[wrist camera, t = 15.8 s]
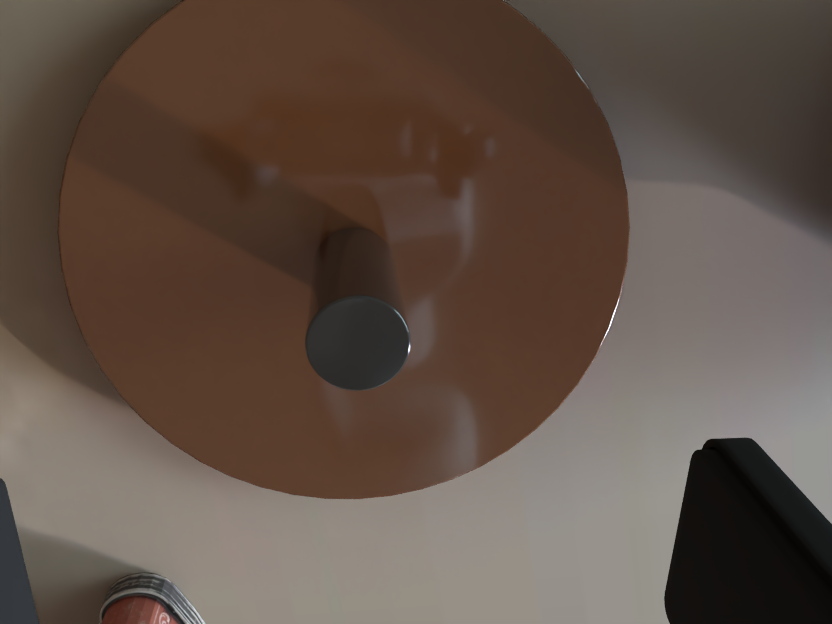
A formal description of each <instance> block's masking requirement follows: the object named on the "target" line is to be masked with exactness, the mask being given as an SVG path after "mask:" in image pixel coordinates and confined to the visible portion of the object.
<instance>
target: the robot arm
mask: <svg viewBox="0 0 832 624" xmlns="http://www.w3.org/2000/svg"><path fill="white" fill-rule="evenodd" d="M664 601H665V610H666V614H667V618H668V620H669V622H670V624H832V524H831V523H830V522H829V521H828V520H827V519H826V518H825V517H824V515H823V514H822V513H821V512H820V511H819V510H818V509H817V508H816V507H815V506H814V505H813V504H812V502H811V501H810V500H809V499H808V498H807V497H806V496H805V495H804V494H803V493H802V492H801V491H800V489H799V488H798V487H797V486H796V485H795V484H794V483H793V482H792V481H791V480H790V479H789V477H788V476H787V475H786V474H785V473H784V472H783V471H782V470H781V469H780V468H779V467H778V466H777V464H776V463H775V462H774V461H773V460H772V459H771V458H770V457H769V456H768V455H767V454H766V453H765V451H764V450H763V449H762V448H761V447H760V446H759V445H758V444H757V443H756V442H755V441H754V440H752V439H750V438H725V439H710V440H708V441H706V443H705V444H704V445H703V448H702V450H696V451H695V452H694V453H693V455H692V458H691V461H690V466H689V472H688V477H687V482H686V487H685V492H684V497H683V502H682V508H681V513H680V518H679V523H678V528H677V533H676V538H675V544H674V549H673V554H672V559H671V564H670V569H669V574H668V580H667V585H666V590H665V597H664ZM0 624H39V621H38V616H37V612H36V608H35V604H34V600H33V596H32V591H31V587H30V583H29V579H28V575H27V571H26V566H25V562H24V558H23V554H22V550H21V546H20V542H19V537H18V533H17V529H16V525H15V521H14V517H13V512H12V508H11V504H10V500H9V496H8V492H7V488H6V485H5V482H4V481H3V480H2V479H1V478H0Z"/></svg>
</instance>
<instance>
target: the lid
mask: <svg viewBox="0 0 832 624" xmlns="http://www.w3.org/2000/svg"><path fill="white" fill-rule="evenodd" d="M629 229H630V226H629V211H628V197H627V189H626V184H625V179H624V174H623V170H622V165H621V160H620V156H619V153H618V150H617V147H616V145H615V142H614V139H613V136H612V133H611V131H610V128H609V125H608V122H607V120H606V118H605V117H604V115H603V113H602V111H601V109H600V107H599V105H598V103H597V101H596V99H595V97H594V95H593V94H592V92H591V90H590V88H589V87H588V85H587V84H586V83H585V81H584V80H583V78H582V77H581V76H580V74H579V73H578V71H577V70H576V69H575V67H574V66H573V64H572V63H571V62H570V60H569V59H568V57H567V56H566V55H565V54H564V53H563V52H562V51H561V50H560V49H559V48H558V47H557V46H556V45H555V44H554V43H553V42H552V41H551V40H550V39H549V38H548V37H547V36H546V34H545V33H544V32H543V31H542V30H541V29H540V28H538V27H537V26H536V25H535V24H533V23H532V22H531V21H529V20H528V19H527V18H526V17H524V16H523V15H522V14H521V13H519V12H518V11H517V10H515V9H514V8H513V7H512V6H510V5H509V4H508V3H506V2H504V1H502V0H182V1H181V2H179V3H178V4H177V5H175V6H174V7H173V8H171V9H170V10H169V11H167V12H166V13H165V14H163V15H162V16H160V17H159V18H158V19H156V20H155V21H154V22H152V23H151V24H150V25H149V26H148V27H147V28H146V29H145V30H144V31H143V32H142V33H141V34H140V35H139V36H138V37H137V38H136V39H135V40H134V41H133V42H132V43H131V44H130V45H129V46H128V47H127V48H126V49H125V50H124V51H123V52H122V53H121V55H120V56H119V57H118V59H117V60H116V62H115V63H114V64H113V66H112V67H111V68H110V70H109V71H108V72H107V74H106V75H105V76H104V78H103V79H102V80H101V82H100V83H99V85H98V86H97V88H96V90H95V92H94V94H93V96H92V98H91V99H90V101H89V103H88V105H87V107H86V109H85V111H84V113H83V115H82V117H81V118H80V120H79V123H78V126H77V129H76V132H75V135H74V137H73V140H72V143H71V146H70V149H69V152H68V155H67V158H66V163H65V168H64V173H63V179H62V184H61V189H60V195H59V217H58V239H59V249H60V259H61V269H62V273H63V277H64V281H65V285H66V289H67V293H68V298H69V302H70V305H71V308H72V310H73V313H74V316H75V318H76V321H77V323H78V326H79V328H80V331H81V333H82V336H83V338H84V340H85V342H86V344H87V345H88V347H89V349H90V351H91V353H92V354H93V356H94V358H95V360H96V362H97V363H98V365H99V367H100V369H101V370H102V371H103V373H104V374H105V376H106V377H107V378H108V380H109V381H110V382H111V384H112V385H113V386H114V388H115V389H116V390H117V392H118V393H119V394H120V396H121V397H122V398H123V399H124V400H125V401H126V402H127V403H128V404H129V405H130V406H131V408H132V409H133V410H134V411H135V412H136V413H137V414H138V415H139V416H140V417H141V418H142V419H143V420H144V421H145V422H146V423H147V424H148V425H150V426H151V427H152V428H153V429H155V430H156V431H157V432H158V433H159V434H161V435H162V436H163V437H164V438H165V439H167V440H168V441H169V442H170V443H172V444H173V445H175V446H176V447H178V448H179V449H181V450H183V451H184V452H186V453H187V454H189V455H190V456H192V457H194V458H195V459H197V460H198V461H200V462H202V463H204V464H206V465H208V466H210V467H212V468H214V469H216V470H218V471H220V472H222V473H224V474H226V475H228V476H231V477H234V478H236V479H239V480H242V481H245V482H248V483H250V484H253V485H256V486H259V487H262V488H266V489H271V490H275V491H279V492H283V493H288V494H292V495H299V496H308V497H316V498H324V499H363V498H374V497H384V496H392V495H397V494H402V493H407V492H411V491H416V490H421V489H424V488H427V487H430V486H433V485H437V484H440V483H443V482H446V481H449V480H452V479H454V478H456V477H459V476H461V475H463V474H465V473H468V472H470V471H472V470H474V469H476V468H479V467H481V466H483V465H484V464H486V463H488V462H489V461H491V460H493V459H494V458H496V457H498V456H500V455H501V454H503V453H505V452H506V451H508V450H509V449H511V448H512V447H513V446H515V445H516V444H517V443H519V442H520V441H521V440H523V439H524V438H525V437H527V436H528V435H529V434H531V433H532V432H533V431H535V430H536V429H537V428H538V427H539V426H540V425H541V424H542V423H543V422H544V421H545V420H546V419H547V418H548V417H549V416H550V415H551V414H552V413H553V412H555V411H556V410H557V409H558V407H559V406H560V405H561V404H562V403H563V401H564V400H565V399H566V398H567V397H568V395H569V394H570V393H571V392H572V391H573V389H574V388H575V387H576V386H577V385H578V383H579V382H580V380H581V379H582V377H583V375H584V374H585V372H586V371H587V369H588V368H589V366H590V365H591V363H592V361H593V360H594V358H595V357H596V355H597V353H598V351H599V349H600V347H601V345H602V342H603V340H604V338H605V336H606V334H607V332H608V330H609V328H610V326H611V323H612V320H613V317H614V314H615V311H616V308H617V305H618V302H619V299H620V296H621V291H622V286H623V281H624V276H625V271H626V266H627V260H628V244H629Z"/></svg>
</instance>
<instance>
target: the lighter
mask: <svg viewBox="0 0 832 624" xmlns="http://www.w3.org/2000/svg"><path fill="white" fill-rule="evenodd" d="M99 620H100V624H205V623H204V621H203V620H202V618H201V617H200V615H199V614H198V612H197V611H196V610H195V609H194V607H193V606H192V605H191V604H190V603H189V601H188V600H187V599H186V598H185V597H184V596H183V594H182V593H181V592H180V591H179V590H178V589H177V587H176V586H175V585H174V584H173V583H172V582H170V581H169V580H168V579H166V578H164V577H161V576H158V575H156V574H145V573H141V574H134V575H129V576H127V577H125V578H122V579H120V580H118V581H117V582H116V583H115V584H114V585H112V586H111V587H110V589H109V591H108V593H107V595H106V598H105V600H104V603H103V605H102V608H101V610H100V613H99Z"/></svg>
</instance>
